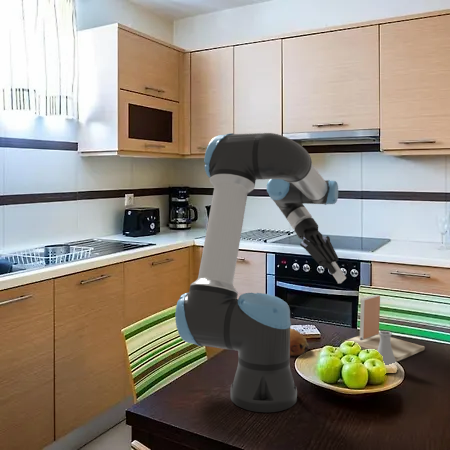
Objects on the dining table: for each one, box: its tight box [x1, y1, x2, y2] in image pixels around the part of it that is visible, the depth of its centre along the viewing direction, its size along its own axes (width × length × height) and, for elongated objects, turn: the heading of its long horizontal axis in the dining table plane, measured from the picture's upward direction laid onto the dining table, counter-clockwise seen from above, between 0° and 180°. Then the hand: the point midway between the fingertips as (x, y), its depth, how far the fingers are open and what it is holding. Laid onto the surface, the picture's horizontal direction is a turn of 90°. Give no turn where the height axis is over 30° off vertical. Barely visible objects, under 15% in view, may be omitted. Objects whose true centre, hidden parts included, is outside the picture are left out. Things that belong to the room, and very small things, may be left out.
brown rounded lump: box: [290, 327, 310, 357], centre depth 149 cm, size 10×10×8 cm
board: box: [343, 334, 426, 362], centre depth 152 cm, size 14×18×1 cm
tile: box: [359, 294, 381, 340], centre depth 155 cm, size 8×1×12 cm, turn 130°
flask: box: [377, 330, 397, 365], centre depth 134 cm, size 7×7×10 cm
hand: (342, 280), depth 162 cm, fingers closed
